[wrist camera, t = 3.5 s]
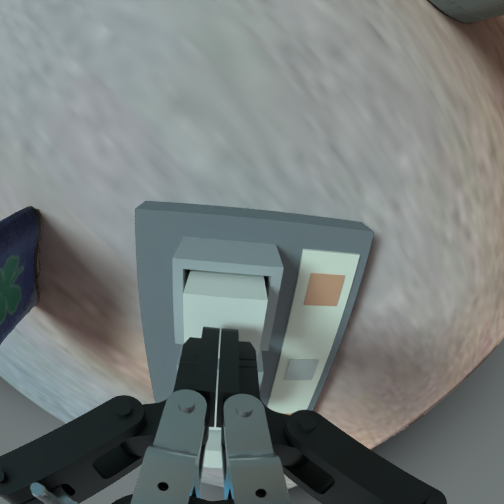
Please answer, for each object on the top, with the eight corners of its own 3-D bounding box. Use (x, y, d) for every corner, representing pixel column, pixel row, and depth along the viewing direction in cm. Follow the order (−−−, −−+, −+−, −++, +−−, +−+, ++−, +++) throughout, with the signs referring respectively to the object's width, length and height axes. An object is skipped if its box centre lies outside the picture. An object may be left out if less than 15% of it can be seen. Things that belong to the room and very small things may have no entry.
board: (145, 201, 17) (114, 225, 12) (361, 222, 18) (397, 251, 13) (164, 415, 25) (157, 454, 20) (296, 422, 26) (304, 460, 22)
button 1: (194, 419, 20) (191, 448, 17) (239, 422, 20) (240, 452, 17) (196, 439, 21) (193, 465, 18) (236, 441, 21) (236, 468, 19)
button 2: (192, 263, 15) (182, 293, 12) (262, 269, 15) (267, 300, 12) (191, 320, 16) (184, 355, 13) (254, 324, 16) (257, 360, 13)
